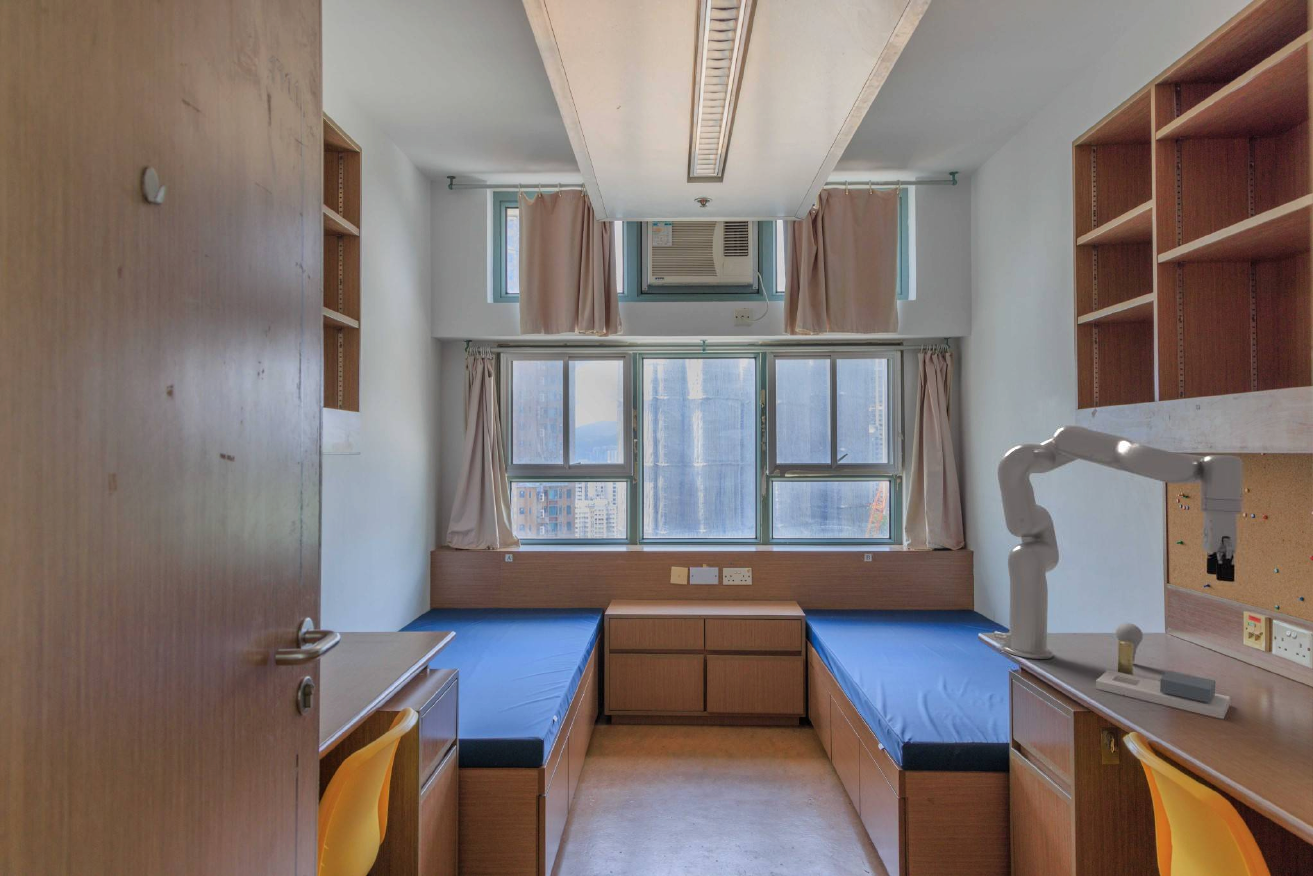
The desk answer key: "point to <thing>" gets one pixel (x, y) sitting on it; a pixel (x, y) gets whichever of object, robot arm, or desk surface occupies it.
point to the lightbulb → (1130, 635)
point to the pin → (1125, 657)
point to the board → (1159, 694)
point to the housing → (1187, 686)
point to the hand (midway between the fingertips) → (1220, 577)
